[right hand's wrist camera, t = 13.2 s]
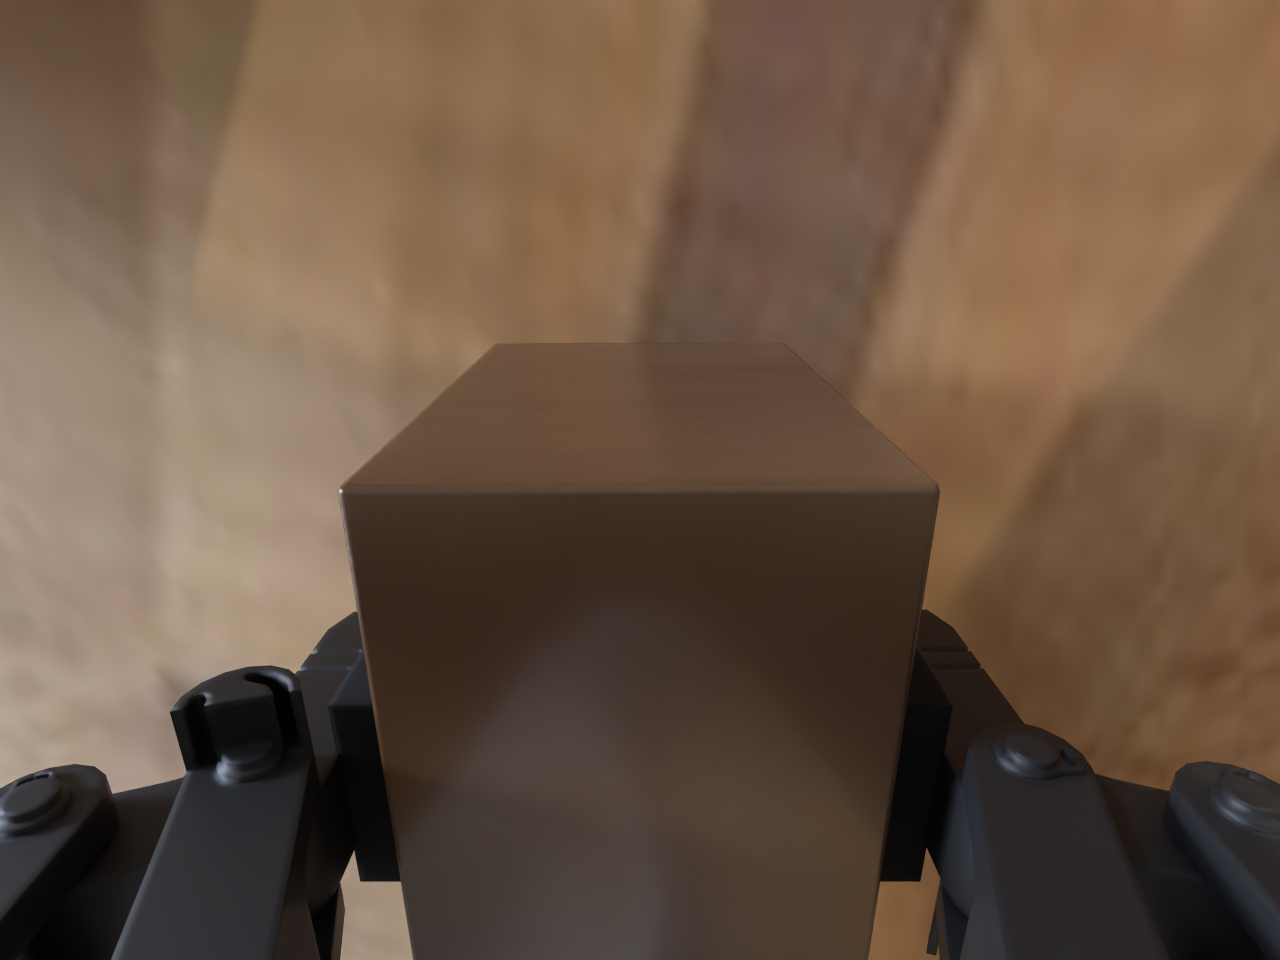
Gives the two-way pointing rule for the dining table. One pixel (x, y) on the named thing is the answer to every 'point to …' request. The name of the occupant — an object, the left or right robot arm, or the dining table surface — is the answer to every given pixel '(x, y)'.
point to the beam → (639, 653)
